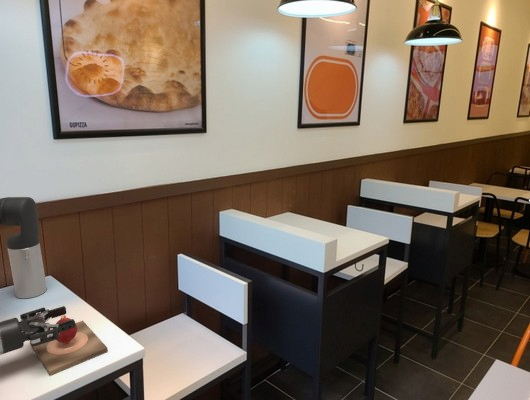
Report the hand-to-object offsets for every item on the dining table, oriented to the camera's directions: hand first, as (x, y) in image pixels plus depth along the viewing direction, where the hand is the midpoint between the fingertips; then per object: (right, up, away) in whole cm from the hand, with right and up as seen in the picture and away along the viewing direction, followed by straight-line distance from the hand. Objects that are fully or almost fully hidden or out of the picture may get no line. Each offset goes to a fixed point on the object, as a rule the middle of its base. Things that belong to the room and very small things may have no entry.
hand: (70, 316), depth 109 cm
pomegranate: (-1, -8, +1) cm, 8 cm away
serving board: (-1, -9, +1) cm, 9 cm away
